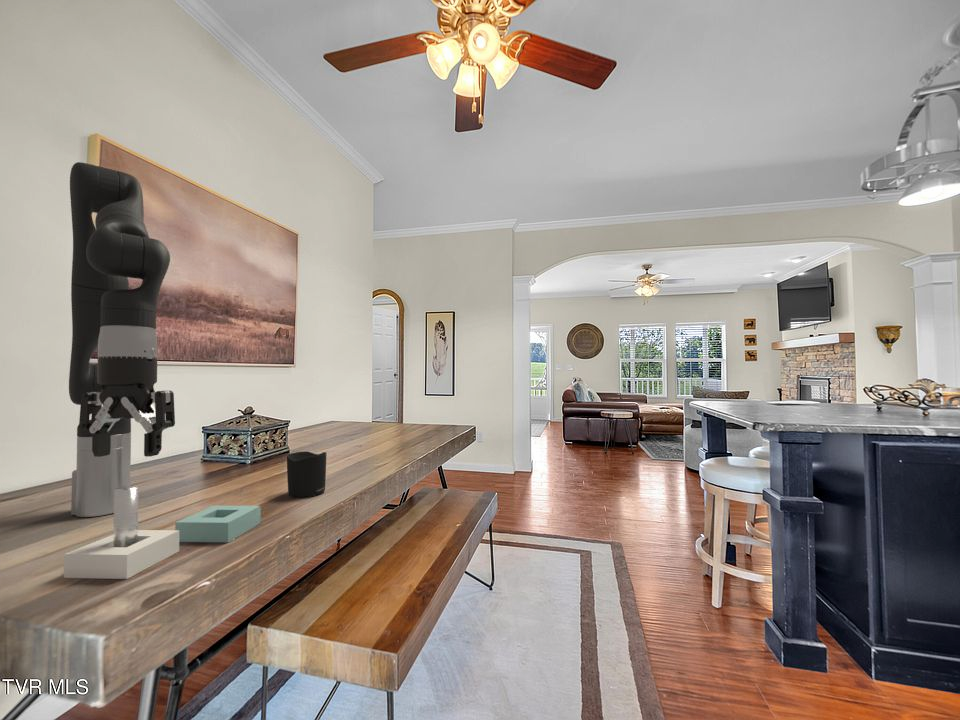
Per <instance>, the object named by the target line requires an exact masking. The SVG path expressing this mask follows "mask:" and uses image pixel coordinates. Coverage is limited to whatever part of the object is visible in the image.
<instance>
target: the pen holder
mask: <svg viewBox="0 0 960 720" xmlns="http://www.w3.org/2000/svg"><path fill="white" fill-rule="evenodd" d="M286 474H287V475H286V476H287V477H286V478H287V494H288V496H289V497H290V498H294V499H303V498H307V499H308V498H312V497H317V496H319V495H322V494H324V492H325V491H326V477H327V476H326V475H327V452H326V451H323V452H322V453H313V452H310V451H296V452H292V453H288V454H287V455H286Z"/></svg>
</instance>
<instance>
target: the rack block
mask: <svg viewBox="0 0 960 720" xmlns="http://www.w3.org/2000/svg"><path fill="white" fill-rule="evenodd" d="M261 509H262V508H261V505H212V506H209V507H207V508H204V509H203V510H200V511H198V512H196V513H194V514H191V515H188V516H187V517H184V518H182V519H180V520H177V521H175V522H174V523H175V526H174V527H175V530H179V543H230V542H231V541H233V540H235V539H236V538H238V537H239V536H242V535H243V534H245V533H246V532H248V531H250V530H252V529H253V528H255V527H257V526H258V525H260V524H261V522H262V521H261V519H262V517H261V513H262V511H261Z"/></svg>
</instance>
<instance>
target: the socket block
mask: <svg viewBox="0 0 960 720" xmlns="http://www.w3.org/2000/svg"><path fill="white" fill-rule="evenodd" d="M113 541H114V533H112V534H110V535H108V536H105V537H103V538H101V539H98V540H96V541H93V542H91V543H89V544H85V545H84V546H81V547H79V548H76V549H73V550H70V551H68V552H66V553H64V554H63V555H64V556H63V579H100V580H101V579H105V580H106V579H107V580H108V579H111V580H114V579H115V580H117V579H118V580H127V579H129V578H131V577H134V576H135V575H137V574H139V573H141V572H143V571H144V570H147V569H148V568H150V567H152V566H154V565H156V564H158V563H160V562H162V561H163V560H166V559H167V558H169V557H171V556H173V555H175V554H176V553H178V552H180V542H179V530H171V529H169V530H168V529H166V530H164V529H163V530H162V529H160V530H159V529H157V530H155V529H150V530H149V529H138V542H137V543H135V544H133V545H131V546H128V547H113Z"/></svg>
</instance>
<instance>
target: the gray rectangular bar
mask: <svg viewBox="0 0 960 720" xmlns="http://www.w3.org/2000/svg"><path fill="white" fill-rule="evenodd" d="M139 488H140V487H139V485H130V486H125V487H120V488H116V489H114V513H113V534H114V541H113V547H128V546H131V545H133V544H135V543H137V542H138V530H139V490H140V489H139Z"/></svg>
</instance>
